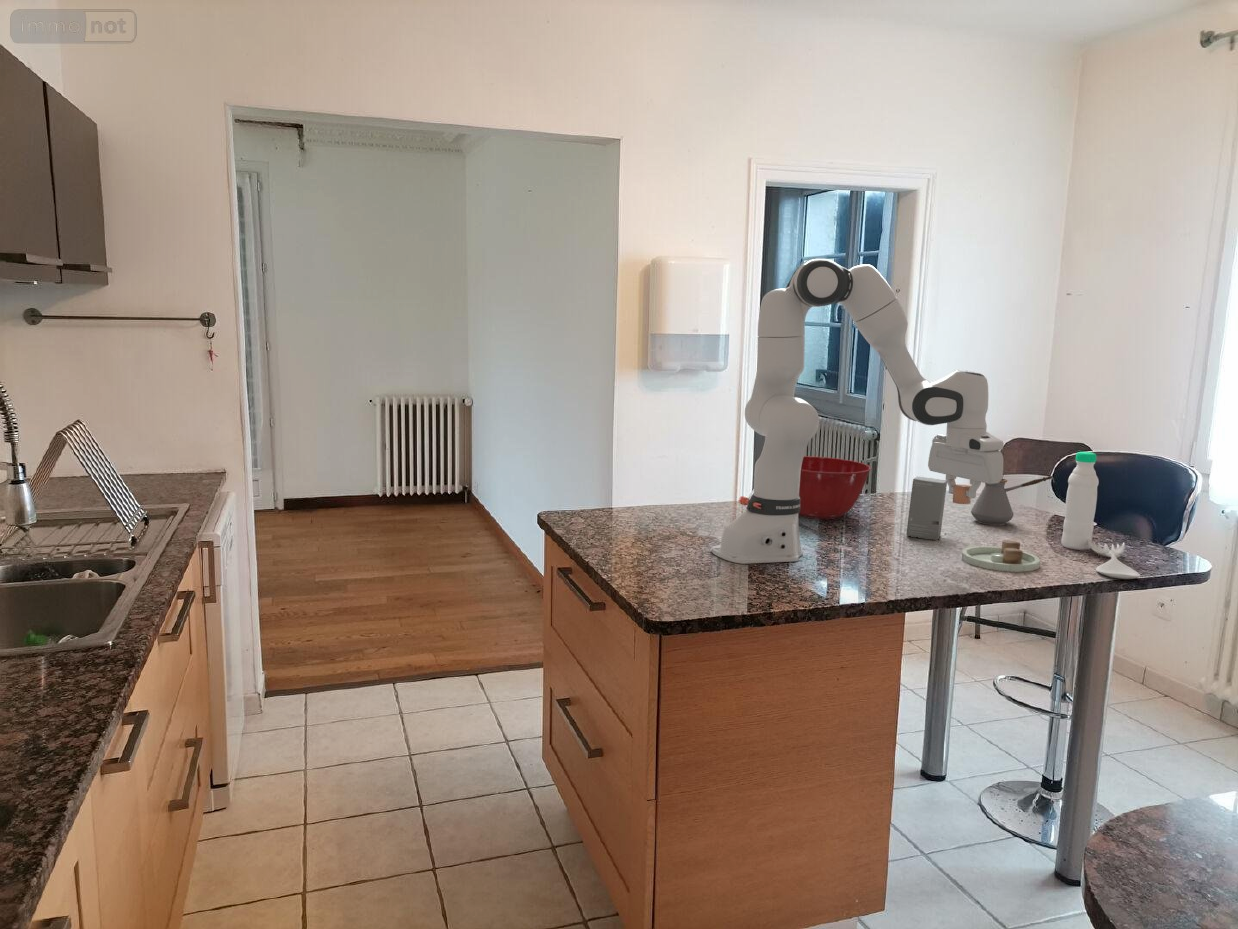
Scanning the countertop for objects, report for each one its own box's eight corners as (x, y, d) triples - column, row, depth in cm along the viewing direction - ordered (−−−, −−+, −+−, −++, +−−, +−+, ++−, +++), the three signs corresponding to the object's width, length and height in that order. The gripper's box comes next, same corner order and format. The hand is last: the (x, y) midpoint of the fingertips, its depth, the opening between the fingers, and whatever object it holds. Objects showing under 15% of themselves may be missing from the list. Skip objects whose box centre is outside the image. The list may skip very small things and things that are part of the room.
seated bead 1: (1010, 561, 217) (1011, 545, 216) (997, 557, 220) (998, 541, 220) (1022, 559, 219) (1023, 543, 218) (1008, 555, 222) (1010, 539, 221)
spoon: (1124, 554, 230) (1125, 541, 230) (1143, 587, 201) (1144, 572, 200) (1084, 549, 234) (1086, 536, 233) (1097, 582, 204) (1099, 567, 204)
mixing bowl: (861, 507, 280) (864, 457, 278) (873, 528, 252) (877, 473, 250) (768, 502, 284) (771, 453, 281) (771, 522, 256) (773, 468, 254)
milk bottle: (1087, 545, 239) (1098, 451, 235) (1094, 551, 232) (1105, 455, 228) (1058, 542, 241) (1068, 449, 236) (1063, 549, 234) (1074, 453, 230)
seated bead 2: (1012, 570, 209) (1014, 553, 209) (998, 565, 213) (1000, 549, 212) (1024, 568, 211) (1026, 551, 210) (1010, 563, 215) (1012, 547, 214)
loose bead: (961, 504, 215) (962, 488, 214) (948, 501, 218) (950, 485, 218) (974, 503, 216) (975, 486, 216) (961, 500, 220) (962, 483, 219)
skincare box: (905, 536, 243) (910, 478, 240) (910, 531, 249) (915, 475, 247) (938, 541, 239) (943, 482, 237) (942, 535, 245) (947, 478, 243)
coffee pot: (970, 524, 260) (975, 473, 257) (969, 516, 270) (973, 467, 268) (1052, 532, 253) (1058, 479, 250) (1047, 523, 264) (1052, 472, 261)
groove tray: (1001, 578, 206) (1002, 568, 205) (946, 559, 221) (946, 549, 220) (1054, 571, 213) (1055, 561, 212) (997, 553, 228) (997, 543, 227)
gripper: (923, 434, 223) (920, 489, 225) (989, 445, 204) (985, 505, 207) (943, 432, 225) (939, 487, 228) (1009, 443, 207) (1005, 502, 209)
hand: (961, 495), depth 217 cm, fingers closed on loose bead, 4 cm apart
